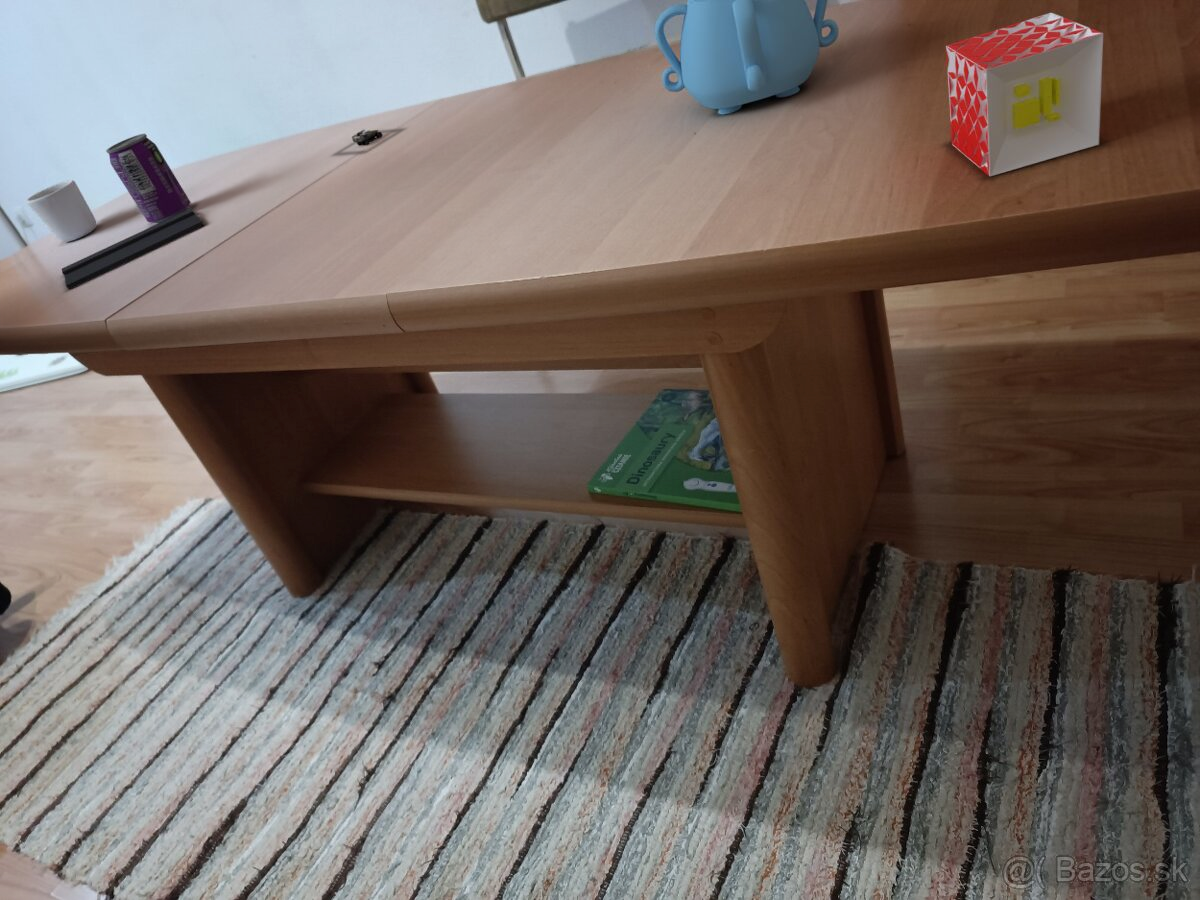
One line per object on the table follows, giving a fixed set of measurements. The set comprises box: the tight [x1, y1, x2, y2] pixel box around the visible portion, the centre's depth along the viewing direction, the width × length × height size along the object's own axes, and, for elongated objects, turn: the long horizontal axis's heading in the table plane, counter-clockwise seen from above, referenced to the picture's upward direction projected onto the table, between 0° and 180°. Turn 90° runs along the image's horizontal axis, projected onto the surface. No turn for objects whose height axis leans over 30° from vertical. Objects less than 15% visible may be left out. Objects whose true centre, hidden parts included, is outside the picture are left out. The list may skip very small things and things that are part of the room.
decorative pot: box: [654, 0, 839, 115], centre depth 94 cm, size 16×16×14 cm
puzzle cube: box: [945, 12, 1104, 177], centre depth 66 cm, size 8×8×8 cm
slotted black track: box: [61, 208, 205, 291], centre depth 126 cm, size 20×10×1 cm, turn 122°
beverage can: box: [105, 133, 192, 224], centre depth 133 cm, size 7×7×12 cm
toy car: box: [351, 128, 383, 147], centre depth 136 cm, size 3×4×2 cm, turn 143°
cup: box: [25, 179, 97, 243], centre depth 145 cm, size 11×8×8 cm
